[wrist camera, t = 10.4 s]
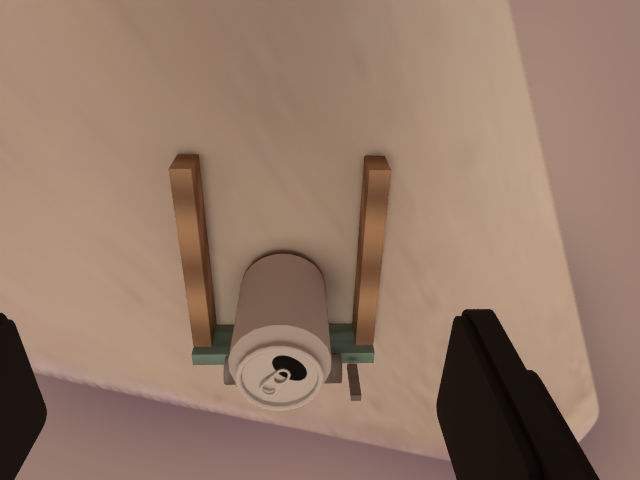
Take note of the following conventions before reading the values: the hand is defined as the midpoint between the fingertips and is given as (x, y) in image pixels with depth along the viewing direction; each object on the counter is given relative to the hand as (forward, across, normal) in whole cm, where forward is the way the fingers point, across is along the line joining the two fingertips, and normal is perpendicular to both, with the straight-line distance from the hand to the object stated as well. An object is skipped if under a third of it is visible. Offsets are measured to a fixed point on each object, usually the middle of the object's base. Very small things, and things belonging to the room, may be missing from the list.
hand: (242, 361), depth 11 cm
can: (+28, 0, +18) cm, 34 cm away
